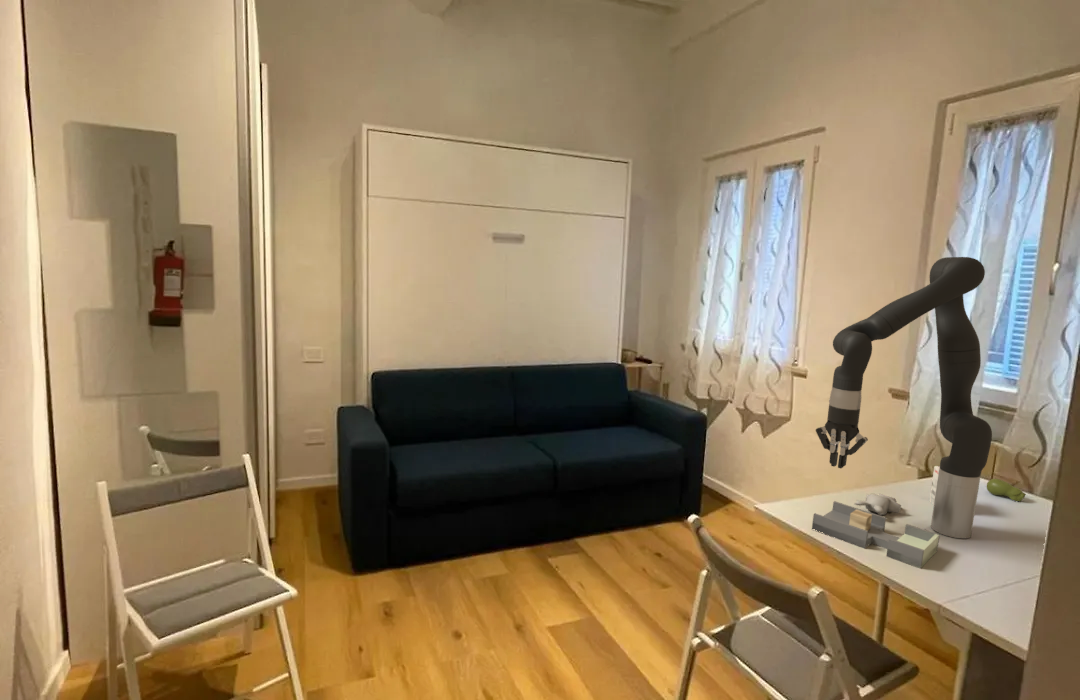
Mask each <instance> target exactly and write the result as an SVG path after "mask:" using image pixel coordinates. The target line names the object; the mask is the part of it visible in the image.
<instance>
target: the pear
mask: <svg viewBox="0 0 1080 700" xmlns="http://www.w3.org/2000/svg"><path fill="white" fill-rule="evenodd" d="M986 490H987V491H988V492H989V494H991V495H993V496H1001V497H1002V496H1004V497H1008V498H1009V499H1010V500H1012V501H1013V500H1015V501H1014V502H1016V501H1020V502H1021V501H1022V500H1023V499H1024V498H1025V497H1026V493H1025V492H1023V491H1022V489H1020V488H1018V487H1016V486H1013V485H1012V484H1010V482H1007V481H1005V480H1002V479H999V478H991V479H990V480H988V482H987V483H986Z"/></svg>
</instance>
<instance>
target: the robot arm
mask: <svg viewBox="0 0 1080 700" xmlns="http://www.w3.org/2000/svg"><path fill="white" fill-rule="evenodd" d="M985 273H986V271H985V267H984V264H983V263H982V262H981V261H980V260H978V259H976V258H974V257H969V256H953V257H952V256H951V257H950V256H949V257H943V258H940V259H938V260H936V261H935V262H934V263H933V264H932V266H931V268H930V271H929V284H927V285H925V286H924V287H922V288H920V289H917V290H915V291H914V292H912V293H909V294H907V295H903V296H902V297H900V298H898V299H896V300H894V301H891V302H889V303H888V304H886V305H884V306H883V307H881V308H880V309H879V310H877V311H876V312H874V313H872V314H871V315H870V316H869V317H866V318H864V319H861V320H860V321H857V322H855V323H853V324H851V325H849V326H847V327H845V328H843V329H841V330H840V331H838V333H837V334H836V335H835V336H834V337H833V340H832V347H833V350H834V351H835V352H836V353H837V354H838V355H841V356H843V359H842V362H841V364H840V365H839V366H837V367H836V368H834V372H833V378H832V385H831V391H830V394H829V398H828V399H829V400H828V403H829V404H828V408H827V409H828V410H827V421H826V423H825V424H824V426H820V427H817V428H816V429H815V432H816V435H817V437H818V438H819V440H820V442H821V445H822V447H823V449H824V450H828V451H829V452H830V453H829V464H830V466H831V467H836V466H837V468H838V469H843V468H844V467H845V466H846V465H847V460H848V459H847V458H848V456H851V455H853V454H854V455H855V453H857V452H858V451H859V450H860V449H861V448H862V447H863V445H865V444H866V442H867V441H868V440H869V439H868V437H866V436H863V435H862V434H861V433H860V429H859V422H860V414H861V413H860V412H861V407H862V406H861V405H862V388H863V381H864V375H865V371H866V370H867V367H868V365H869V362H870V360H871V357H872V352H873V343H872V342H875V341H879V340H881V341H882V340H886V339H887V338H889V337H890V336H893V335H894V334H895V333H897V332H898V331H900V330H901V329H903V328H904V327H906V326H907V325H908V324H911V323H912V322H914V321H915V320H917V319H918V318H920V317H922V316H924V315H925V314H927V313H929V312H931V311H933V310H934V312H935V325H936V337H937V359H938V360H937V361H938V366H939V383H940V411H939V412H940V414H939V429H940V433H941V435H942V437H943V438H944V439H945V440H946V441H948V442H949V443H951V447H950V452H949V455H948V456H943V457H942V458H941V459H940V462H939V466H940V468H939V474H938V481H937V488H936V494H935V501H934V505H933V510H932V515H931V523H930V527H931V529H932V530H933V531H934V532H935V533H936V532H937V534H940V535H944V536H946V537H951V538H955V539H969V538H971V536H972V532H973V530H972V529H973V525H974V518H975V513H976V508H977V506H976V505H977V499H978V495H979V489H980V482H981V476H982V472H983V469H985V467H986V466H987V463H988V458H989V454H990V449H991V445H992V440H993V439H992V438H993V431H992V428H991V426H990V424H989V423H988V422H987V421H986V420H984V419H983V418H981V417H978V416H977V415H974V413H973V406H972V389H973V386H974V385H975V384H974V383H975V382H976V380H977V378H978V375H979V373H980V371H981V370H980V369H981V363H982V362H981V344H980V339H979V336H978V334H977V332H976V330H975V328H974V326H973V323H972V322H971V320H970V319H969V317H968V314H967V312H966V309H965V303H964V295H966V294H968V293H969V292H972V291H973V290H975V289H976V288H978V287H979V286H981V283H982V282H983V281H984V279H985ZM828 435H829V437H828ZM829 438H830V439H829ZM854 439H855V443H854V444H853V445H852V447H850V444H851V441H853V440H854ZM839 447H840V448H839ZM839 449H840V451H839ZM838 451H839V452H838ZM839 453H840V454H839Z"/></svg>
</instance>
